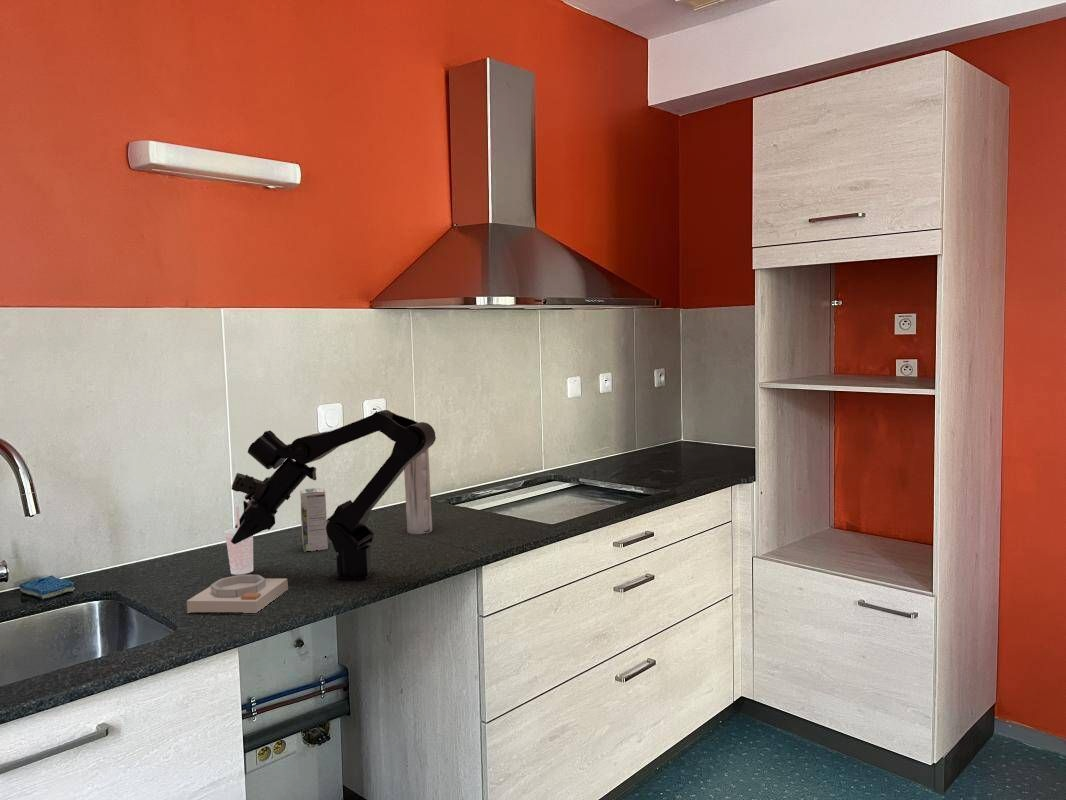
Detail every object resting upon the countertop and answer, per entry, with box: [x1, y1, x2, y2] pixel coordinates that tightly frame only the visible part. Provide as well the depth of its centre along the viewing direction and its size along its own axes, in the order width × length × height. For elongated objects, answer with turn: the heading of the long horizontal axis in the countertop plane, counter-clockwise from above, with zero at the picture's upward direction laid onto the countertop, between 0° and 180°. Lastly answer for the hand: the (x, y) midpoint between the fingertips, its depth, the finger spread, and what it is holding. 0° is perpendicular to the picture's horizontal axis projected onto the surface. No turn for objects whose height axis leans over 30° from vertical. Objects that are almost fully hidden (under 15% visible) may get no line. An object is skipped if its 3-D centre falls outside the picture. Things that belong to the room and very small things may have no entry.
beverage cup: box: [223, 506, 254, 576], centre depth 175 cm, size 6×6×14 cm
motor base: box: [186, 574, 289, 614], centre depth 162 cm, size 14×14×4 cm
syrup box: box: [299, 487, 329, 553], centre depth 200 cm, size 6×6×14 cm
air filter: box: [403, 448, 433, 535], centre depth 213 cm, size 6×6×25 cm
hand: (232, 539), depth 175 cm, fingers closed on beverage cup, 6 cm apart
